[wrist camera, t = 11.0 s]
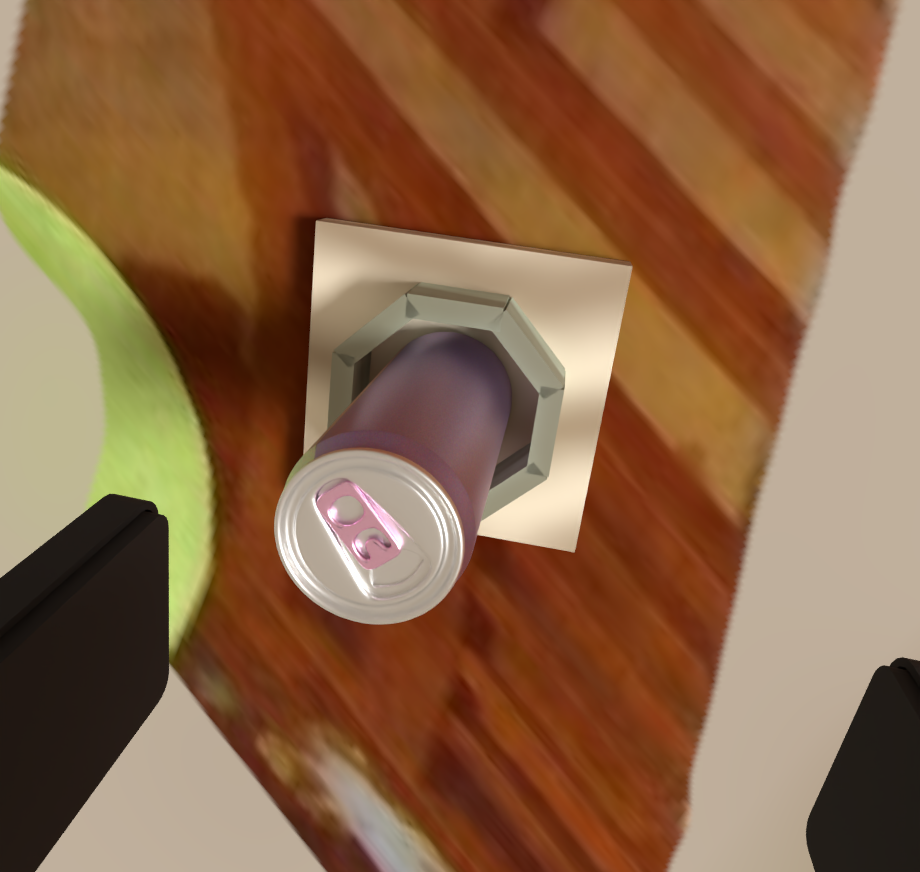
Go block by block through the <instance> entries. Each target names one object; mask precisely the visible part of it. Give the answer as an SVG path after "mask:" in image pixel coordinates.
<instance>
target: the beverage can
mask: <svg viewBox="0 0 920 872" xmlns="http://www.w3.org/2000/svg"><path fill="white" fill-rule="evenodd" d="M511 406H512V389H511V383H510V379H509V376H508V374H507V371H506V369H505V367H504V366H503V364H502V362H501V361H500V360H499V358H498V357H497V356H496V355H495V353H494V352H493V351H492V350H490V349H489V348H488V347H487V346H486V345H484V344H483V343H481V342H480V341H478V340H476V339H474V338H472V337H470V336H467V335H464V334H460V333H455V332H435V333H430V334H426V335H423V336H420V337H418V338H416V339H414V340H412V341H411V342H409V343H408V344H407V345H405V346H404V347H403V348H402V349H401V350H400V351H399V352H398V353H397V354H396V355H395V356H394V357H393V358H392V359H391V361H390V362H389V363H388V364H387V365H386V366H385V367H384V368H383V369H382V370H381V371H380V373H379V374H378V375H377V376H376V377H375V378H374V379H373V380H372V381H371V382H370V383H369V384H368V386H367V387H366V388H365V389H364V390H363V391H362V392H361V393H360V394H359V395H358V396H357V398H356V399H355V400H354V401H353V402H352V403H351V404H350V405H349V406H348V407H347V408H346V409H345V411H344V412H343V413H342V414H341V415H340V416H339V417H338V418H337V419H336V420H335V421H334V423H333V424H332V425H331V426H330V427H329V428H328V429H327V430H326V431H325V432H324V433H323V435H322V436H321V437H320V438H319V439H318V440H317V441H316V442H315V443H314V444H313V445H312V446H311V448H310V449H309V450H308V451H307V452H306V453H305V454H304V455H303V456H302V457H301V458H300V460H299V461H298V462H297V463H296V465H295V466H294V468H293V469H292V471H291V473H290V475H289V477H288V479H287V481H286V484H285V487H284V490H283V492H282V494H281V497H280V499H279V502H278V505H277V509H276V513H275V521H274V533H275V541H276V546H277V550H278V553H279V556H280V559H281V561H282V563H283V565H284V567H285V569H286V571H287V573H288V574H289V576H290V577H291V579H292V580H293V581H294V583H295V584H296V585H297V586H298V588H299V589H300V590H301V591H302V592H303V593H304V594H305V595H306V596H308V597H309V598H310V599H311V600H312V601H314V602H315V603H316V604H318V605H319V606H321V607H322V608H324V609H326V610H327V611H329V612H331V613H333V614H335V615H338V616H340V617H342V618H345V619H348V620H352V621H356V622H360V623H367V624H392V623H399V622H403V621H407V620H410V619H413V618H415V617H418V616H420V615H422V614H424V613H426V612H427V611H429V610H431V609H432V608H433V607H435V606H436V605H437V604H438V603H440V602H441V601H442V600H443V599H444V598H445V596H446V595H447V594H448V593H449V591H450V590H451V589H452V587H453V586H454V584H455V582H456V581H457V580H458V579H459V578H460V576H461V575H462V573H463V572H464V570H465V568H466V567H467V565H468V563H469V560H470V558H471V555H472V552H473V548H474V545H475V541H476V537H477V533H478V530H479V526H480V522H481V519H482V515H483V511H484V508H485V504H486V500H487V496H488V493H489V489H490V485H491V482H492V478H493V474H494V471H495V467H496V463H497V459H498V456H499V452H500V448H501V445H502V441H503V437H504V434H505V430H506V426H507V422H508V419H509V415H510V411H511Z"/></svg>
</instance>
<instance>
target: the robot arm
mask: <svg viewBox="0 0 920 872" xmlns="http://www.w3.org/2000/svg"><path fill="white" fill-rule="evenodd" d="M168 675H169V527H168V520H167V518H166V517H165V516H164V515H160V514H158V510H157V507H156V505H155V504H154V503H153V502H151V501H146V500H141V499H136V498H131V497H126V496H122V495H117V494H108V495H107V496H105V497H103V498H102V499H101V500H99V501H98V502H97V503H95V504H94V505H93V506H92V507H90V508H89V509H88V510H87V511H85V512H84V513H83V514H81V515H80V516H79V517H78V518H76V519H75V520H74V521H73V522H71V523H70V524H69V525H67V526H66V527H65V528H64V529H63V530H61V531H60V532H59V533H57V534H56V535H55V536H53V537H52V538H51V539H50V540H48V541H47V542H46V543H44V544H43V545H42V546H41V547H39V548H38V549H37V550H36V551H34V552H33V553H32V554H31V555H29V556H28V557H27V558H25V559H24V560H23V561H22V562H20V563H19V564H18V565H16V566H15V567H14V568H13V569H11V570H10V571H9V572H8V573H6V574H5V575H4V576H2V577H1V578H0V872H35V871H36V870H37V868H38V867H39V866H40V864H41V863H42V862H43V860H44V859H45V857H46V856H47V855H48V853H49V852H50V850H51V849H52V848H53V846H54V845H55V844H56V842H57V841H58V840H59V838H60V837H61V835H62V834H63V833H64V831H65V830H66V829H67V827H68V826H69V824H70V823H71V822H72V820H73V819H74V818H75V816H76V815H77V813H78V812H79V810H80V809H81V808H82V807H83V805H84V804H85V802H86V801H87V800H88V798H89V797H90V795H91V794H92V793H93V791H94V790H95V789H96V787H97V786H98V785H99V783H100V782H101V781H102V779H103V778H104V776H105V775H106V773H107V772H108V771H109V770H110V768H111V767H112V765H113V764H114V762H115V761H116V760H117V759H118V757H119V756H120V754H121V753H122V752H123V750H124V749H125V747H126V746H127V745H128V743H129V742H130V740H131V739H132V738H133V737H134V735H135V734H136V732H137V731H138V730H139V728H140V727H141V726H142V724H143V723H144V721H145V720H146V719H147V717H148V716H149V715H150V713H151V712H152V710H153V709H154V708H155V706H156V705H157V704H158V702H159V700H160V699H161V697H162V695H163V693H164V691H165V688H166V685H167V681H168ZM806 839H807V846H808V851H809V854H810V857H811V860H812V863H813V866H814V870H815V872H920V661H917V660H912V659H908V658H897V659H896V660H895V661H893V662H892V663H891V665H890V666H881V667H879V668H878V669H877V670H876V671H875V673H874V675H873V677H872V679H871V681H870V683H869V686H868V688H867V690H866V692H865V694H864V697H863V699H862V701H861V703H860V706H859V708H858V710H857V712H856V714H855V716H854V719H853V721H852V723H851V725H850V727H849V729H848V732H847V734H846V736H845V738H844V741H843V743H842V745H841V747H840V749H839V751H838V754H837V756H836V758H835V760H834V762H833V765H832V767H831V769H830V771H829V773H828V776H827V778H826V780H825V782H824V784H823V787H822V789H821V791H820V793H819V795H818V797H817V800H816V802H815V805H814V807H813V808H812V811H811V813H810V815H809V818H808V822H807V828H806Z"/></svg>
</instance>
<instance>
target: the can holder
mask: <svg viewBox="0 0 920 872" xmlns="http://www.w3.org/2000/svg"><path fill="white" fill-rule="evenodd" d="M631 271H632V264H631V262H628V261H621V260H614V259H607V258H600V257H593V256H586V255H579V254H572V253H565V252H558V251H551V250H545V249H538V248H531V247H524V246H517V245H510V244H503V243H496V242H489V241H482V240H475V239H468V238H462V237H455V236H448V235H441V234H434V233H427V232H420V231H413V230H406V229H399V228H392V227H385V226H379V225H372V224H365V223H358V222H351V221H344V220H337V219H330V218H324V219H320V220H316V229H315V248H314V266H313V285H312V304H311V322H310V341H309V360H308V378H307V397H306V415H305V434H304V453H303V455H304V454H305V453H306V452H307V451H308V450H309V449H310V448H311V446H312V445H313V444H314V443H315V442H316V441H317V440H318V439H319V438H320V437H321V436H322V435H323V433H324V432H325V431H326V430H327V429H328V428H329V427H330V426H331V425H332V424H333V423H334V421H335V420H336V419H337V418H338V417H339V416H340V415H341V414H342V413H343V412H344V411H345V409H346V408H347V407H348V406H349V405H350V404H351V403H352V402H353V401H354V400H355V399H356V398H357V396H358V395H359V394H360V393H361V392H362V391H363V390H364V389H365V388H366V387H367V386H368V384H369V383H370V382H371V381H372V380H373V379H374V378H375V377H376V376H377V375H378V374H379V373H380V371H381V370H382V369H383V368H384V367H385V366H386V365H387V364H388V363H389V362H390V361H391V359H392V358H393V357H394V356H395V355H396V354H397V353H398V352H399V351H400V350H401V349H402V348H403V347H404V346H405V345H407V344H408V343H409V342H411V341H412V340H414V339H416V338H418V337H420V336H423V335H426V334H430V333H435V332H455V333H460V334H464V335H467V336H470V337H472V338H474V339H476V340H478V341H480V342H481V343H483V344H484V345H486V346H487V347H488V348H489V349H490V350H492V351H493V352H494V353H495V355H496V356H497V357H498V358H499V360H500V361H501V362H502V364H503V366H504V367H505V369H506V371H507V374H508V376H509V379H510V383H511V389H512V406H511V411H510V415H509V419H508V422H507V426H506V430H505V434H504V437H503V441H502V445H501V448H500V452H499V456H498V459H497V463H496V467H495V471H494V474H493V478H492V482H491V485H490V489H489V493H488V496H487V500H486V504H485V508H484V511H483V515H482V519H481V522H480V526H479V530H478V533H477V535H482V536H487V537H493V538H498V539H504V540H509V541H515V542H520V543H526V544H532V545H537V546H543V547H548V548H554V549H559V550H565V551H570V552H575V548H576V543H577V538H578V533H579V528H580V523H581V518H582V513H583V508H584V504H585V499H586V494H587V489H588V484H589V479H590V474H591V469H592V464H593V459H594V454H595V449H596V444H597V439H598V434H599V429H600V424H601V419H602V415H603V410H604V405H605V400H606V395H607V390H608V385H609V380H610V375H611V370H612V365H613V360H614V355H615V350H616V345H617V340H618V335H619V331H620V326H621V321H622V316H623V311H624V306H625V301H626V296H627V291H628V286H629V281H630V276H631Z"/></svg>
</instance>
